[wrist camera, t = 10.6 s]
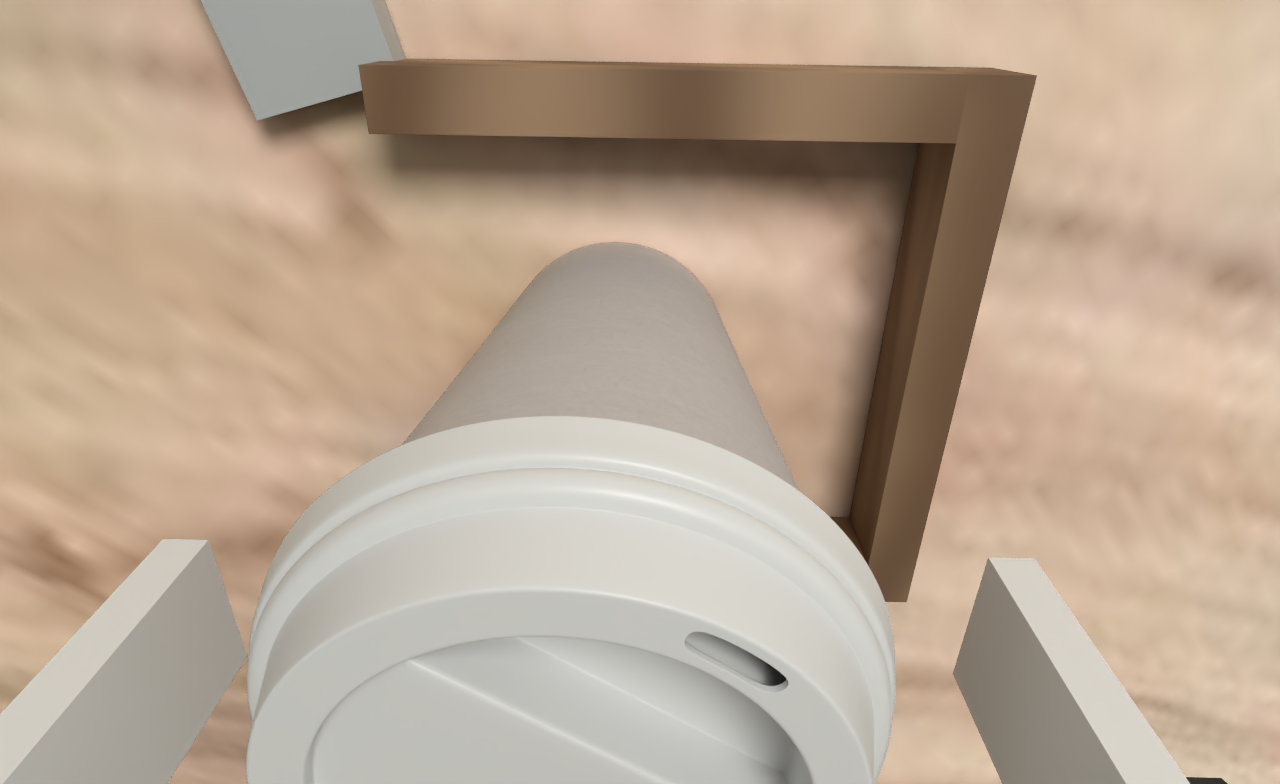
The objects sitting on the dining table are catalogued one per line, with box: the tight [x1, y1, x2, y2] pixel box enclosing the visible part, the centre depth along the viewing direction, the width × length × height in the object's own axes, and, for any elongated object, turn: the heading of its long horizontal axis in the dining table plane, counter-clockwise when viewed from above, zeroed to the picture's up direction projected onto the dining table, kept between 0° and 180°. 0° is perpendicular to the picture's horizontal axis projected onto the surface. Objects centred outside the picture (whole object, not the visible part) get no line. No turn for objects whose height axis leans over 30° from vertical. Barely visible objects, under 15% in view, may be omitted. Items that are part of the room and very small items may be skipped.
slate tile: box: [200, 0, 406, 121], centre depth 18 cm, size 4×4×1 cm
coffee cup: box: [246, 242, 896, 784], centre depth 16 cm, size 10×10×15 cm
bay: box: [358, 59, 1036, 602], centre depth 21 cm, size 16×16×2 cm
